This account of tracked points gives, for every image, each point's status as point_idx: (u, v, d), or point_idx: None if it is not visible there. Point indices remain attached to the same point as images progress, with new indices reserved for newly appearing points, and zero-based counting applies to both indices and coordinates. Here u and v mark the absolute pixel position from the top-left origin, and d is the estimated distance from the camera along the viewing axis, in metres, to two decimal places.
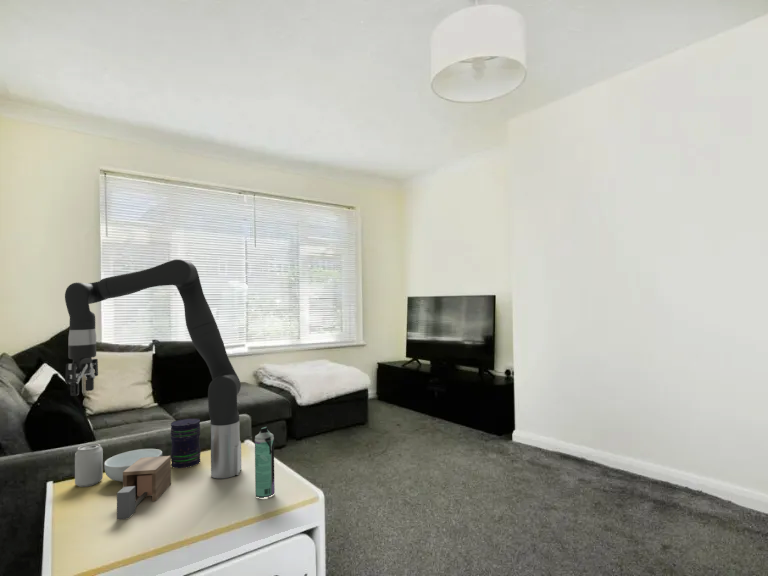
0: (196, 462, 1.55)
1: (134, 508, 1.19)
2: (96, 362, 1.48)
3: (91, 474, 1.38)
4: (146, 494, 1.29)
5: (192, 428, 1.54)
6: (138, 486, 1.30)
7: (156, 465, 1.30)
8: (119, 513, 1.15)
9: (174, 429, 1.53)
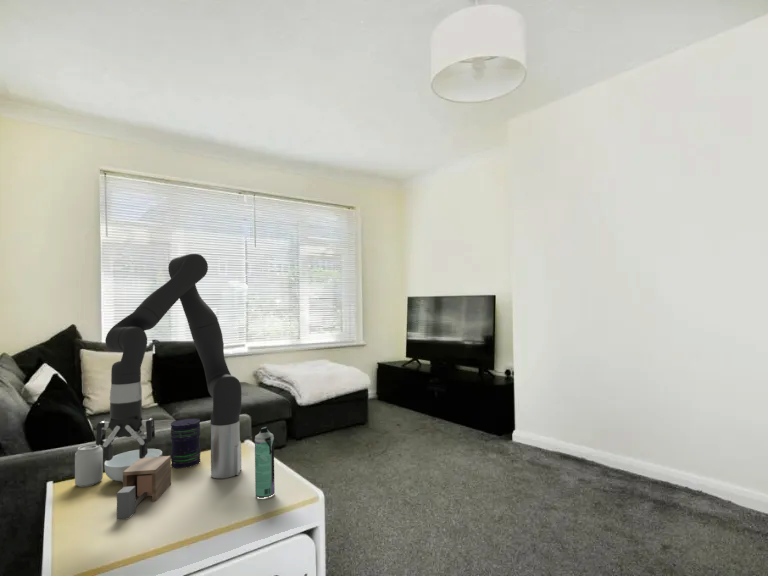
0: (196, 462, 1.55)
1: (134, 508, 1.19)
2: None
3: (91, 474, 1.38)
4: (146, 494, 1.29)
5: (192, 428, 1.54)
6: (138, 486, 1.30)
7: (156, 465, 1.30)
8: (119, 513, 1.15)
9: (174, 429, 1.53)
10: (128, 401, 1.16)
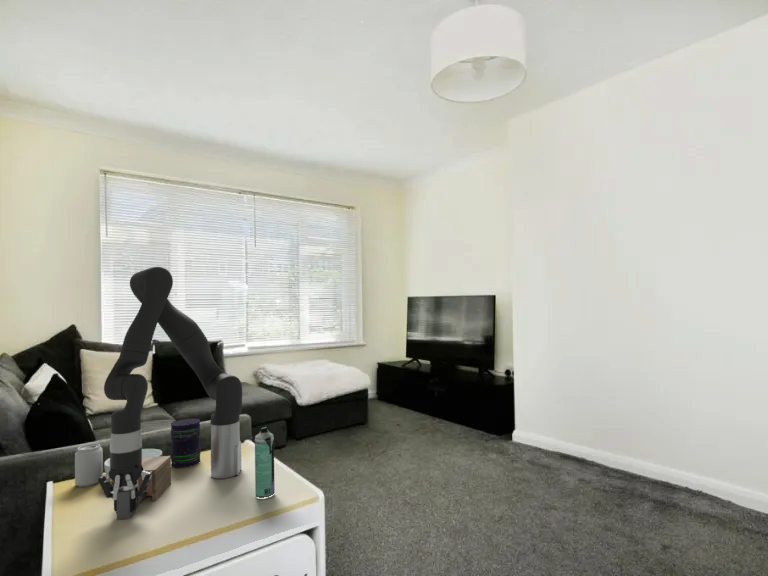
0: (196, 462, 1.55)
1: None
2: None
3: (91, 474, 1.38)
4: (146, 494, 1.29)
5: (192, 428, 1.54)
6: (138, 486, 1.30)
7: (156, 465, 1.30)
8: (119, 513, 1.15)
9: (174, 429, 1.53)
10: (128, 450, 1.15)
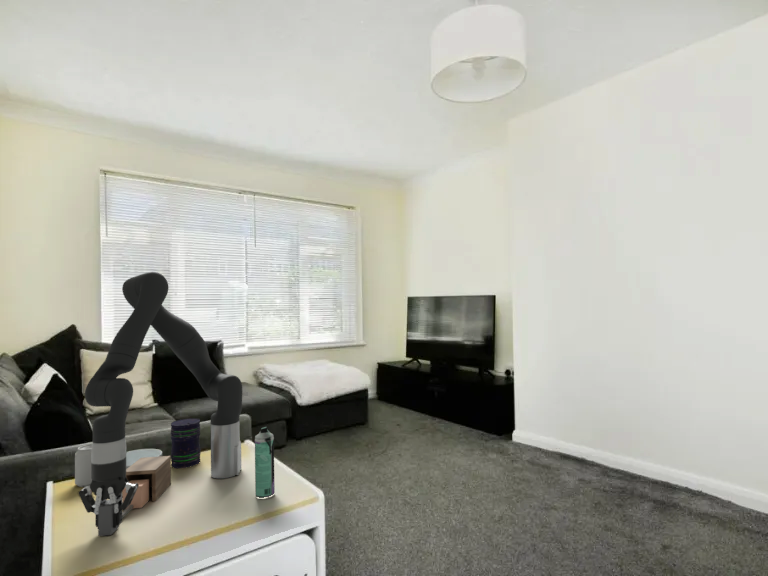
0: (196, 462, 1.55)
1: None
2: None
3: None
4: (132, 507, 1.20)
5: (192, 428, 1.54)
6: (123, 498, 1.21)
7: (156, 465, 1.30)
8: (101, 529, 1.07)
9: (174, 429, 1.53)
10: (111, 461, 1.07)
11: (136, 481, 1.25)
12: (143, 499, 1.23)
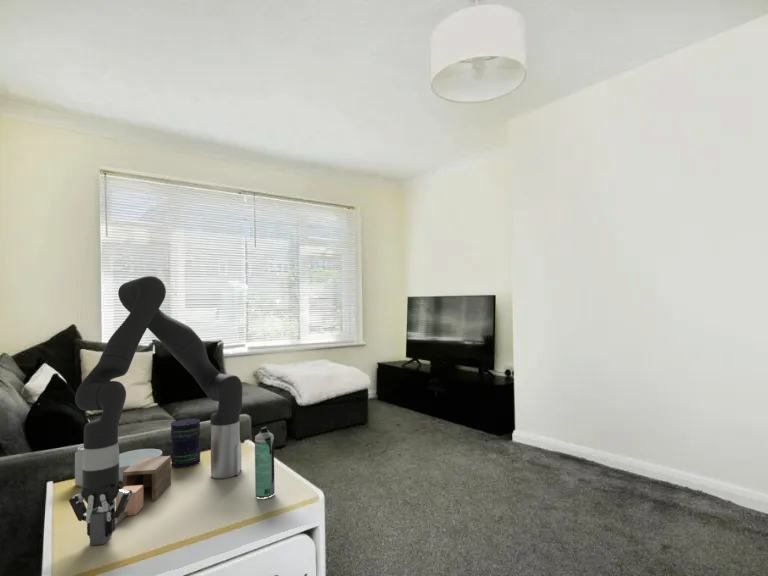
0: (196, 462, 1.55)
1: None
2: None
3: None
4: (126, 514, 1.16)
5: (192, 428, 1.54)
6: (117, 505, 1.17)
7: (156, 465, 1.30)
8: (92, 538, 1.03)
9: (174, 429, 1.53)
10: (103, 468, 1.02)
11: (130, 487, 1.21)
12: (137, 505, 1.19)
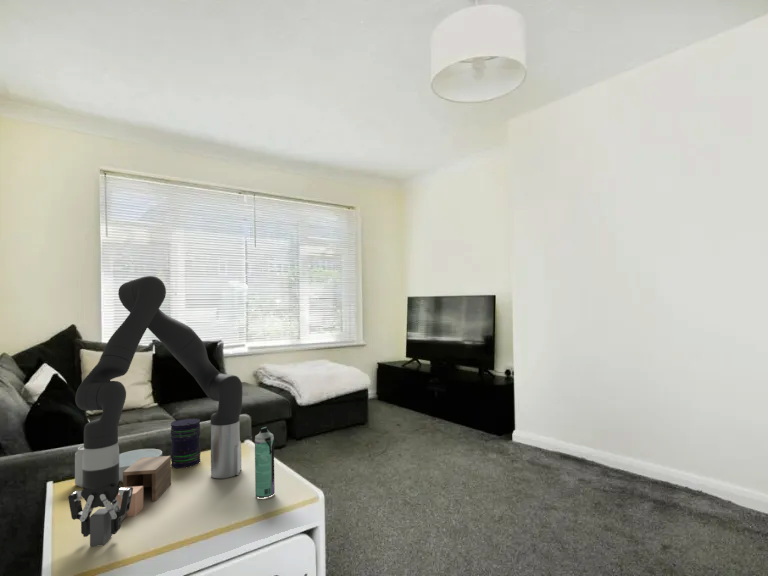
0: (196, 462, 1.55)
1: (110, 533, 1.06)
2: None
3: None
4: (126, 515, 1.16)
5: (192, 428, 1.54)
6: None
7: (156, 465, 1.30)
8: (92, 539, 1.02)
9: (174, 429, 1.53)
10: (103, 467, 1.02)
11: None
12: (137, 506, 1.18)
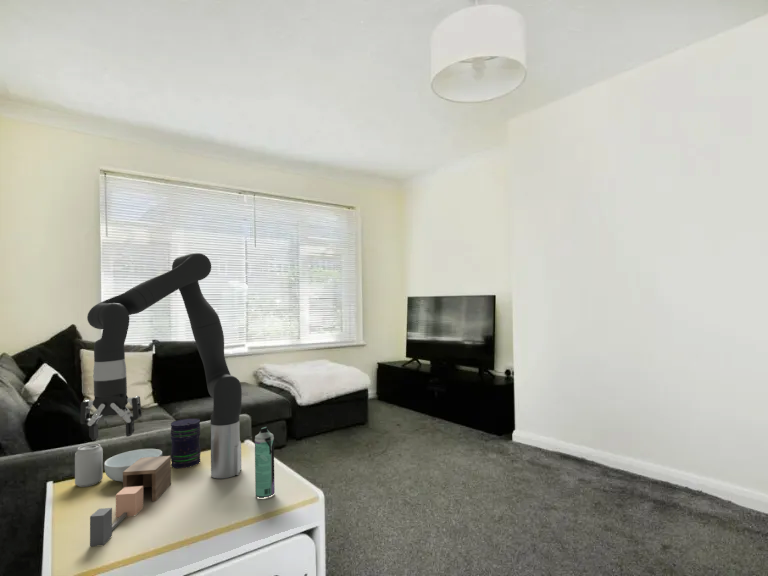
0: (196, 462, 1.55)
1: (110, 533, 1.06)
2: None
3: (91, 474, 1.38)
4: (126, 515, 1.16)
5: (192, 428, 1.54)
6: (117, 506, 1.17)
7: (156, 465, 1.30)
8: (92, 539, 1.02)
9: (174, 429, 1.53)
10: (112, 378, 1.14)
11: (130, 488, 1.21)
12: (137, 506, 1.18)
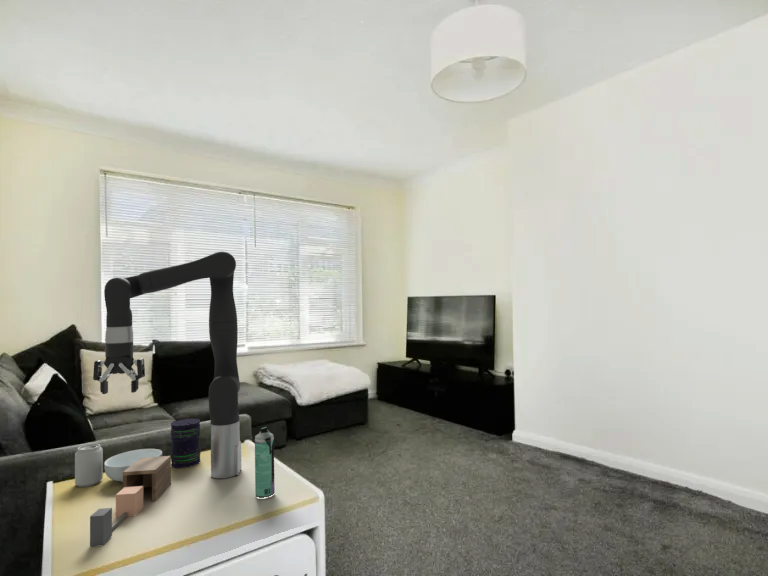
0: (196, 462, 1.55)
1: (110, 533, 1.06)
2: None
3: (91, 474, 1.38)
4: (126, 515, 1.16)
5: (192, 428, 1.54)
6: (117, 506, 1.17)
7: (156, 465, 1.30)
8: (92, 539, 1.02)
9: (174, 429, 1.53)
10: (121, 342, 1.33)
11: (130, 488, 1.21)
12: (137, 506, 1.18)
